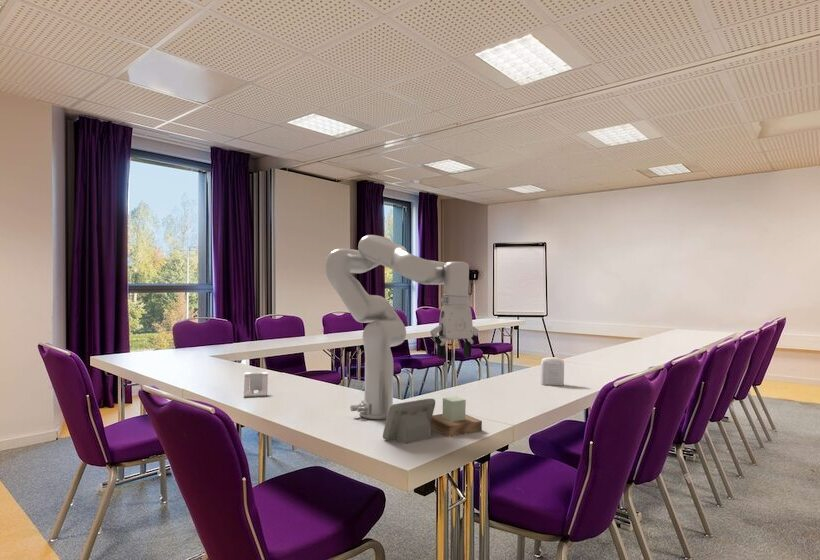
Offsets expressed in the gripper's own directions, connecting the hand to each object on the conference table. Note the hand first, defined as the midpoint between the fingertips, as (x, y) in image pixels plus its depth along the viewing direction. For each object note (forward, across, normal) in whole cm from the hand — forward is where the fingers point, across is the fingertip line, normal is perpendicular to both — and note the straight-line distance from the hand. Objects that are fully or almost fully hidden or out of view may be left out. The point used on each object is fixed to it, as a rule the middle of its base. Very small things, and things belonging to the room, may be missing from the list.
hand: (454, 357), depth 146 cm
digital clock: (+22, -16, -2) cm, 27 cm away
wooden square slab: (+22, 0, 0) cm, 22 cm away
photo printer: (+22, +78, +34) cm, 88 cm away
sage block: (+19, 0, 0) cm, 19 cm away
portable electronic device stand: (+23, -44, +71) cm, 86 cm away
